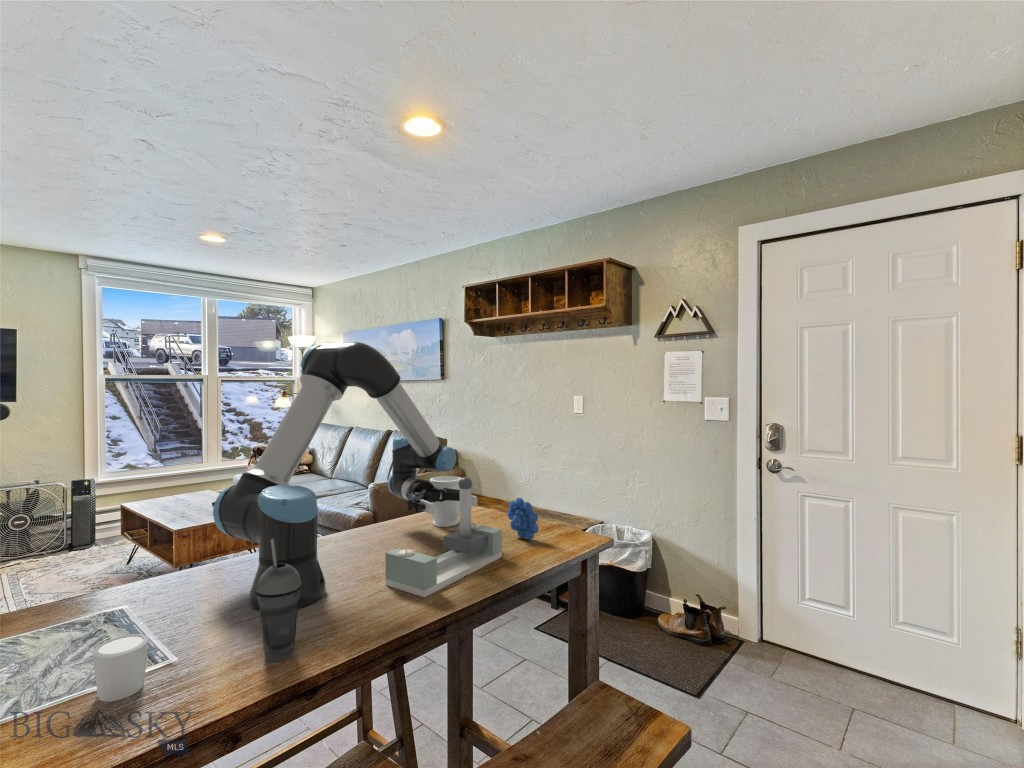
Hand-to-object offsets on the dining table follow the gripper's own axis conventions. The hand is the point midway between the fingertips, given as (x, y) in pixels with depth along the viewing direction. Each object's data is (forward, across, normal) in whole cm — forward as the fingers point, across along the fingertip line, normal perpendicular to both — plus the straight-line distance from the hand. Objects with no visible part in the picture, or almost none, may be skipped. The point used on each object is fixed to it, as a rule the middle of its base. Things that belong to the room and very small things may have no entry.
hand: (455, 505), depth 138 cm
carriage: (+6, +1, -10) cm, 11 cm away
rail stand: (+8, +7, -13) cm, 17 cm away
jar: (-27, -13, -14) cm, 33 cm away
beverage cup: (+25, +50, -14) cm, 58 cm away
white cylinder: (+21, +72, -14) cm, 76 cm away
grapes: (0, -23, -14) cm, 26 cm away
